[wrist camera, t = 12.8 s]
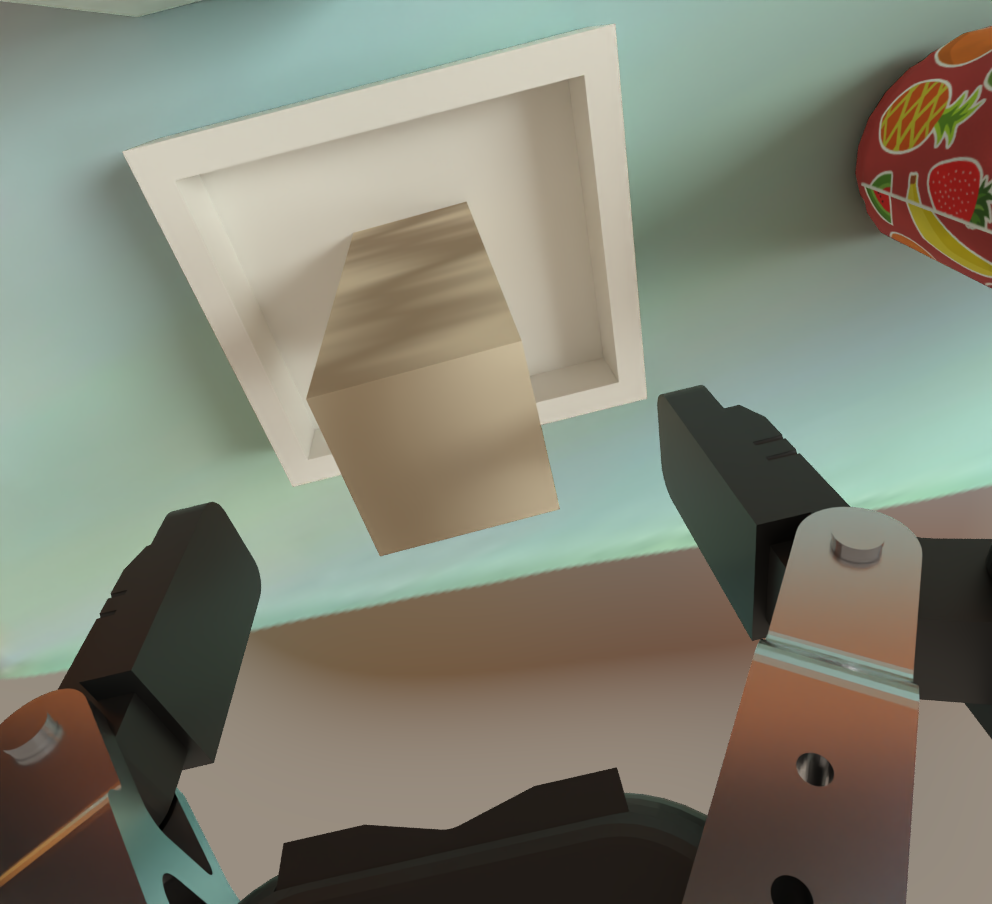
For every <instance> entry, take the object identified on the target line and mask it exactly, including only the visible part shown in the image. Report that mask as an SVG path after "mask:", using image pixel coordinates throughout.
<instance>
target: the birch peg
mask: <svg viewBox="0 0 992 904" xmlns="http://www.w3.org/2000/svg"><path fill="white" fill-rule="evenodd" d="M306 400H307V402H308V405H309V407H310V409H311V411H312V413H313V415H314V417H315V419H316V422H317V424H318V426H319V428H320V430H321V432H322V434H323V436H324V439H325V441H326V443H327V445H328V447H329V449H330V451H331V453H332V455H333V458H334V460H335V462H336V464H337V466H338V468H339V470H340V472H341V475H342V477H343V479H344V481H345V483H346V485H347V487H348V489H349V492H350V494H351V496H352V498H353V500H354V502H355V504H356V506H357V509H358V511H359V513H360V515H361V517H362V519H363V521H364V523H365V526H366V528H367V530H368V532H369V534H370V536H371V538H372V540H373V542H374V545H375V547H376V549H377V551H378V553H379V555H380V556H383V555H387V554H391V553H395V552H398V551H402V550H406V549H410V548H414V547H417V546H421V545H425V544H429V543H433V542H437V541H440V540H444V539H448V538H452V537H456V536H459V535H463V534H467V533H471V532H475V531H479V530H482V529H486V528H490V527H494V526H498V525H501V524H505V523H509V522H513V521H517V520H521V519H524V518H528V517H532V516H536V515H540V514H543V513H547V512H551V511H555V510H559V509H560V508H559V503H558V499H557V494H556V490H555V485H554V481H553V477H552V472H551V468H550V463H549V459H548V455H547V450H546V446H545V441H544V437H543V433H542V428H541V424H540V419H539V415H538V411H537V406H536V402H535V397H534V393H533V388H532V384H531V380H530V375H529V371H528V366H527V362H526V358H525V353H524V349H523V344H522V340H521V338H520V335H519V333H518V330H517V328H516V325H515V323H514V320H513V318H512V315H511V313H510V310H509V308H508V305H507V303H506V300H505V297H504V295H503V292H502V290H501V287H500V285H499V282H498V280H497V277H496V275H495V272H494V270H493V267H492V265H491V262H490V260H489V257H488V255H487V252H486V250H485V247H484V244H483V242H482V239H481V237H480V234H479V232H478V229H477V227H476V224H475V222H474V219H473V217H472V214H471V212H470V209H469V207H468V204H467V202H463V203H459V204H456V205H452V206H449V207H445V208H441V209H438V210H434V211H430V212H427V213H423V214H420V215H416V216H412V217H409V218H405V219H402V220H398V221H394V222H391V223H387V224H384V225H380V226H376V227H373V228H369V229H365V230H362V231H358V232H355V233H353V236H352V239H351V243H350V246H349V250H348V253H347V257H346V260H345V264H344V267H343V271H342V274H341V278H340V281H339V285H338V288H337V292H336V295H335V299H334V302H333V306H332V309H331V313H330V316H329V320H328V323H327V327H326V330H325V334H324V337H323V341H322V345H321V348H320V352H319V355H318V359H317V362H316V366H315V369H314V373H313V376H312V380H311V383H310V387H309V390H308V394H307V397H306Z"/></svg>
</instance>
